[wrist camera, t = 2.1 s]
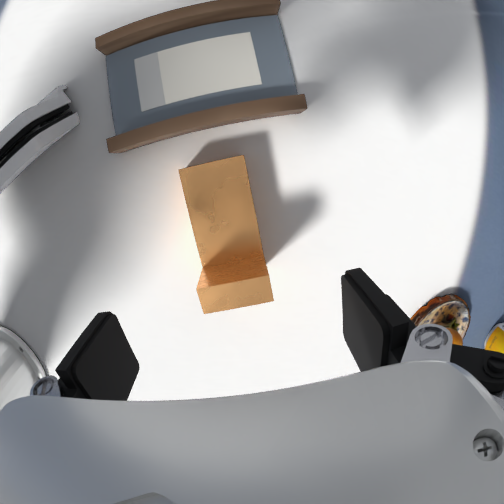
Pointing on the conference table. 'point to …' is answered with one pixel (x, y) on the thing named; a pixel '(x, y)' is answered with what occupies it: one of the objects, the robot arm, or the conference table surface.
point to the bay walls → (223, 9)
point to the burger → (446, 316)
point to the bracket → (226, 235)
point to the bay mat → (198, 71)
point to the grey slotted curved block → (34, 134)
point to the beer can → (495, 339)
